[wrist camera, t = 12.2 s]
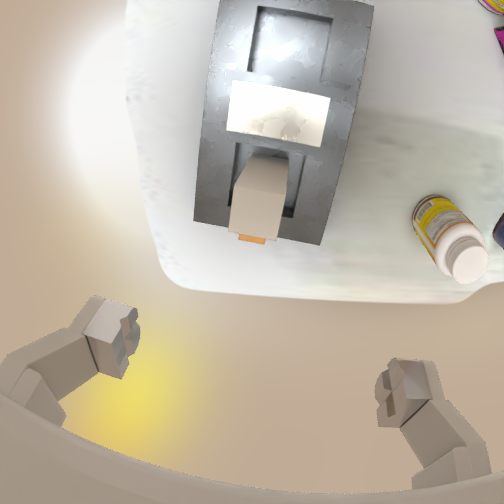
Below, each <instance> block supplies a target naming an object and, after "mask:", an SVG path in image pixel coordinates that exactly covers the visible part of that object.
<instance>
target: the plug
mask: <svg viewBox="0 0 504 504" xmlns="http://www.w3.org/2000/svg"><path fill="white" fill-rule="evenodd" d="M288 165H289V160H287V159H281V158H276V157H271V156H265V155H260V154H254V153H252V155H251V157H250V159H249V160H248V162H247V164H246V166H245V167H244V169H243V171H242V173H241V174H240V176H239V178H238V180H237V182H236V183H235V185H234V190H233V197H232V205H231V213H230V220H229V228H228V232H234V233H239V239H238V240H243V241H248V242H254V243H259V244H265V239H270V240H275V241H276V239H277V235H278V230H279V225H280V221H281V216H282V211H283V207H284V202H285V197H286V188H287V176H288Z"/></svg>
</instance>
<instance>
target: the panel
mask: <svg viewBox="0 0 504 504" xmlns="http://www.w3.org/2000/svg"><path fill="white" fill-rule="evenodd" d="M373 11H374V6H371V5H368V4H364V3H361V2H357V1H353V0H220V4H219V9H218V15H217V21H216V27H215V33H214V39H213V46H212V52H211V59H210V66H209V73H208V80H207V88H206V96H205V104H204V112H203V121H202V130H201V139H200V149H199V159H198V170H197V181H196V194H195V207H194V221H196V222H202V223H207V224H212V225H218V226H223V227H228V228H229V220H230V213H231V205H232V197H233V190H234V185H235V183H236V182H237V180H238V178H239V176H240V174H241V173H242V171H243V169H244V167H245V166H246V164H247V162H248V160H249V159H250V157H251V155H252V153H254V154H260V155H265V156H271V157H276V158H281V159H287V160H289V165H288V176H287V188H286V197H285V202H284V207H283V211H282V216H281V221H280V225H279V230H278V235H277V237H280V238H285V239H290V240H295V241H300V242H305V243H310V244H315V245H320V243H321V240H322V236H323V233H324V230H325V226H326V222H327V219H328V215H329V212H330V208H331V204H332V201H333V197H334V193H335V190H336V186H337V182H338V178H339V174H340V170H341V166H342V162H343V158H344V154H345V150H346V146H347V142H348V138H349V133H350V129H351V125H352V120H353V116H354V111H355V107H356V102H357V98H358V93H359V88H360V83H361V78H362V73H363V68H364V63H365V58H366V52H367V47H368V41H369V35H370V30H371V23H372V17H373Z"/></svg>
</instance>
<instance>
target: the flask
mask: <svg viewBox="0 0 504 504" xmlns="http://www.w3.org/2000/svg"><path fill="white" fill-rule="evenodd" d="M493 231H494V232H493V237H494V239H495V241H496V242H497V243H498V244H499V245H500V246H501V247H502V248H503V249H504V214H503V215H502V217H501V218H500V219H499V221H498V222H497V224H496V226H495V229H494V230H493Z"/></svg>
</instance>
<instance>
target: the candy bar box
mask: <svg viewBox="0 0 504 504" xmlns="http://www.w3.org/2000/svg"><path fill="white" fill-rule="evenodd" d="M494 30H495V33H496V35H497V38H498V40H499V43H500V45H501V48H502V50H503V53H504V27H499V28H495V29H494Z"/></svg>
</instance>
